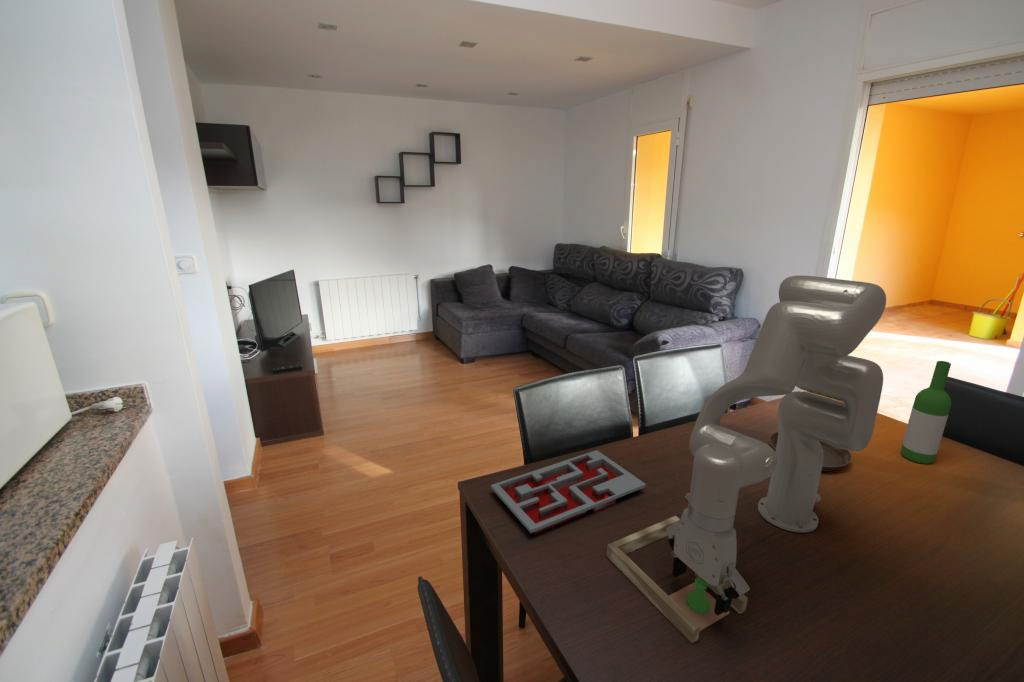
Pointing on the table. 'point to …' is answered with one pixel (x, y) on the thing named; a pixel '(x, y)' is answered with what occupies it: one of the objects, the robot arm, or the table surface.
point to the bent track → (668, 605)
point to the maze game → (565, 490)
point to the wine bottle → (928, 418)
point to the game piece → (698, 597)
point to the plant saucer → (825, 454)
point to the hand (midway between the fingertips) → (699, 591)
